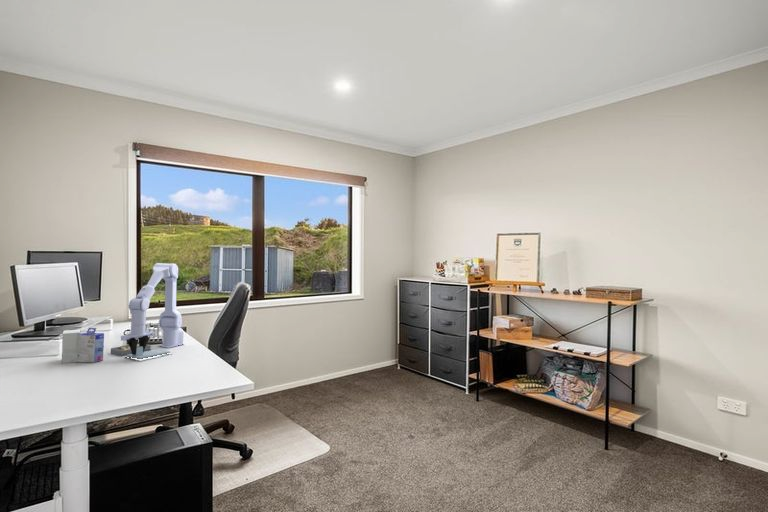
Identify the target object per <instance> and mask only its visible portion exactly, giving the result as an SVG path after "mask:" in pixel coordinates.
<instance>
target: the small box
mask: <svg viewBox="0 0 768 512" xmlns="http://www.w3.org/2000/svg"><path fill="white" fill-rule="evenodd" d="M81 332H82V331H81V329H70V330H69V329H68V330H67V329H65V330H63V332H62V345H61V346H62V349H61V364H68V363H75V355H76V342H77V334H81Z"/></svg>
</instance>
